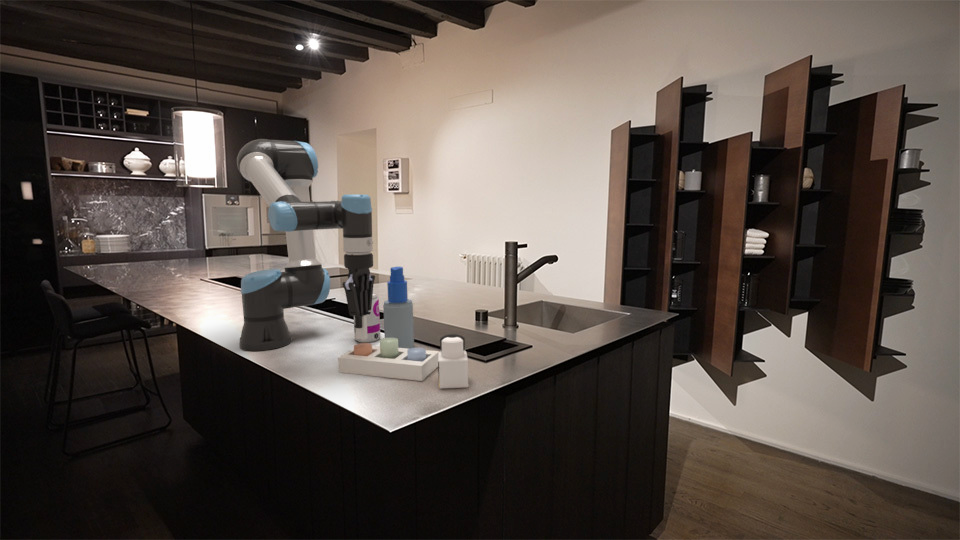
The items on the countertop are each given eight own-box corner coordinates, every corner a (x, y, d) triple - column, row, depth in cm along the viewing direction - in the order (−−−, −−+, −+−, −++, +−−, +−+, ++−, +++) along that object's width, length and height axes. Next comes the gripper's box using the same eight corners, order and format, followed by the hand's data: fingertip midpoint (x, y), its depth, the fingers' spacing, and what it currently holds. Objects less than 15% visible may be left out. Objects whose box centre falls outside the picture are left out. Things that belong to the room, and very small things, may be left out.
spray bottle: (394, 342, 155) (391, 264, 151) (419, 344, 152) (416, 265, 148) (379, 350, 146) (376, 268, 143) (405, 353, 143) (403, 270, 140)
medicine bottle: (438, 378, 123) (437, 332, 121) (466, 377, 124) (466, 331, 122) (438, 389, 116) (437, 340, 114) (468, 387, 117) (467, 339, 115)
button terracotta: (351, 365, 131) (350, 347, 130) (360, 359, 135) (359, 342, 135) (366, 366, 130) (366, 348, 129) (375, 361, 134) (375, 343, 133)
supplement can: (383, 336, 162) (381, 292, 159) (375, 343, 153) (373, 297, 151) (359, 335, 162) (357, 291, 160) (351, 342, 154) (348, 297, 152)
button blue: (404, 370, 126) (404, 352, 126) (412, 364, 131) (412, 346, 130) (421, 372, 125) (421, 353, 124) (429, 366, 129) (428, 348, 129)
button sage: (377, 360, 128) (376, 341, 128) (385, 354, 133) (385, 336, 132) (393, 361, 127) (392, 343, 126) (401, 355, 131) (401, 338, 131)
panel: (338, 372, 128) (337, 357, 128) (362, 357, 139) (361, 344, 139) (421, 381, 121) (421, 365, 121) (439, 365, 133) (439, 351, 132)
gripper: (357, 256, 121) (361, 347, 125) (382, 250, 133) (385, 333, 137) (331, 255, 123) (336, 344, 127) (358, 249, 135) (362, 330, 139)
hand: (361, 338), depth 132 cm, fingers closed
